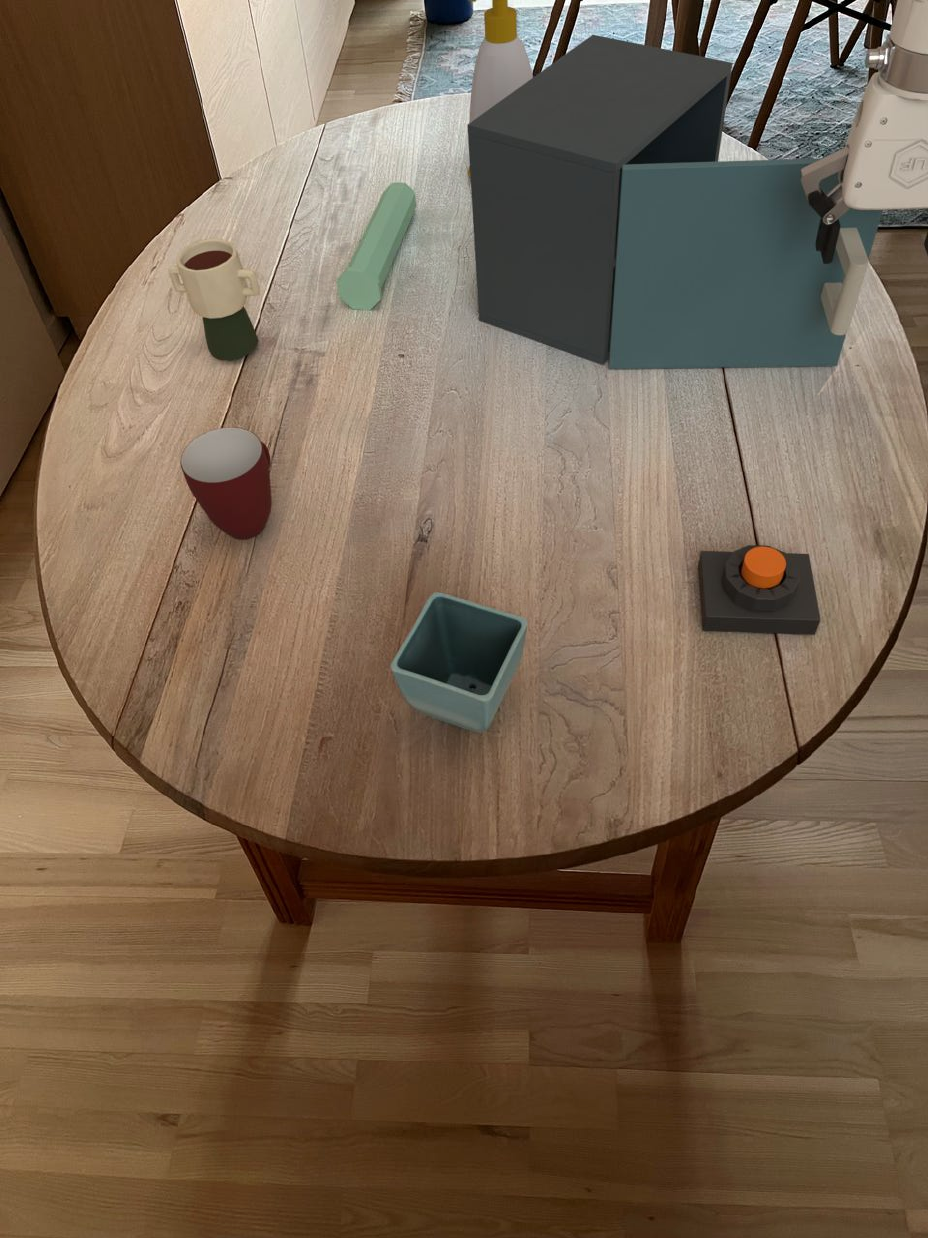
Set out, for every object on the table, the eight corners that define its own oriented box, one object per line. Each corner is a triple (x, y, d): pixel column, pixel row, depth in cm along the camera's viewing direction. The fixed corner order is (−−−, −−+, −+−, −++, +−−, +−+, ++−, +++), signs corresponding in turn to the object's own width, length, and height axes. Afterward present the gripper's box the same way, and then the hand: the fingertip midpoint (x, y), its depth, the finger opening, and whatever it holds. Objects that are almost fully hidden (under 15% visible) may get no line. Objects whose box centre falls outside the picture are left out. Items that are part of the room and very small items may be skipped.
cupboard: (703, 259, 124) (732, 62, 105) (603, 365, 112) (615, 163, 93) (585, 224, 131) (592, 34, 112) (478, 320, 119) (467, 124, 100)
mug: (233, 479, 103) (208, 407, 96) (302, 487, 102) (282, 414, 94) (196, 549, 97) (166, 478, 89) (269, 559, 96) (245, 487, 88)
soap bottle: (451, 180, 141) (435, -21, 121) (499, 149, 146) (492, -49, 126) (510, 202, 136) (504, -5, 116) (558, 168, 141) (560, -35, 121)
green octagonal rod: (388, 166, 132) (341, 261, 117) (427, 183, 133) (386, 280, 118) (377, 203, 137) (331, 300, 122) (416, 219, 138) (374, 317, 123)
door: (848, 404, 104) (914, 197, 86) (610, 407, 107) (625, 205, 88) (835, 360, 109) (895, 155, 91) (608, 363, 112) (622, 164, 93)
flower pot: (531, 679, 85) (530, 617, 78) (493, 760, 80) (489, 702, 73) (442, 651, 87) (433, 589, 80) (400, 727, 82) (387, 668, 75)
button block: (804, 568, 90) (813, 540, 87) (815, 635, 86) (825, 607, 82) (697, 565, 92) (703, 537, 88) (702, 631, 87) (708, 603, 84)
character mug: (284, 335, 120) (260, 239, 109) (267, 370, 115) (240, 273, 105) (204, 330, 121) (173, 235, 111) (184, 364, 117) (150, 269, 107)
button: (779, 559, 87) (783, 546, 85) (784, 589, 84) (788, 576, 83) (739, 558, 87) (742, 545, 86) (742, 588, 85) (746, 575, 83)
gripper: (828, 86, 76) (788, 279, 89) (1058, 76, 74) (982, 275, 87) (815, 48, 80) (779, 236, 94) (1032, 37, 78) (963, 231, 92)
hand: (877, 254), depth 90 cm, fingers open, 9 cm apart
